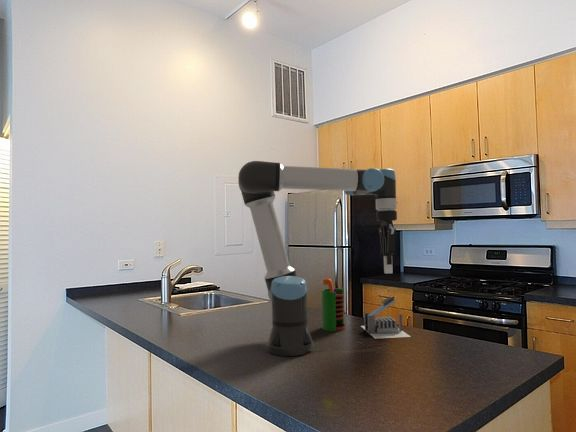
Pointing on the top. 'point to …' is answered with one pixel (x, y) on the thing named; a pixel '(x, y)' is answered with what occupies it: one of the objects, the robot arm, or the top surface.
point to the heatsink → (385, 325)
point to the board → (393, 335)
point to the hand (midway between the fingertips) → (388, 273)
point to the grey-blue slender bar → (383, 306)
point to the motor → (332, 307)
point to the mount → (371, 323)
